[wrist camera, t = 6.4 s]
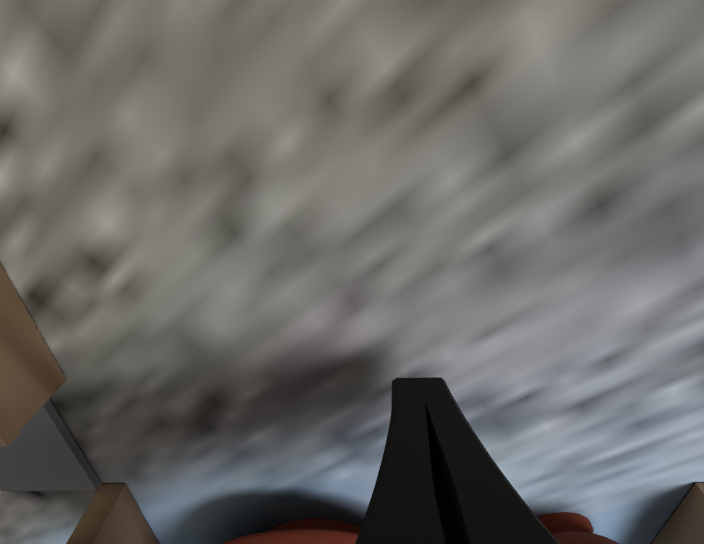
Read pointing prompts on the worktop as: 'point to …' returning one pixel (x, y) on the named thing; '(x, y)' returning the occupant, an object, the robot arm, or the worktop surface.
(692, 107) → the worktop surface
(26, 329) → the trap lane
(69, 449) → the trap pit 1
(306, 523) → the pottery
